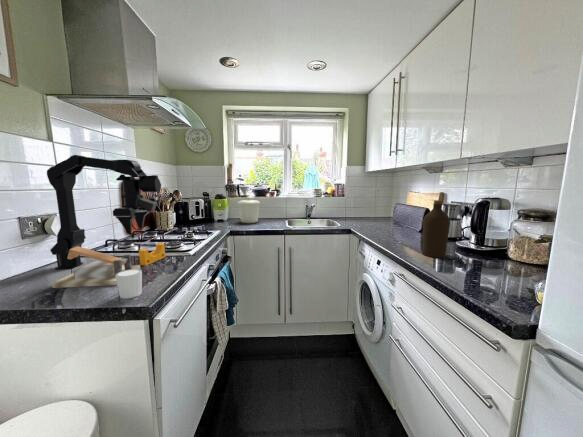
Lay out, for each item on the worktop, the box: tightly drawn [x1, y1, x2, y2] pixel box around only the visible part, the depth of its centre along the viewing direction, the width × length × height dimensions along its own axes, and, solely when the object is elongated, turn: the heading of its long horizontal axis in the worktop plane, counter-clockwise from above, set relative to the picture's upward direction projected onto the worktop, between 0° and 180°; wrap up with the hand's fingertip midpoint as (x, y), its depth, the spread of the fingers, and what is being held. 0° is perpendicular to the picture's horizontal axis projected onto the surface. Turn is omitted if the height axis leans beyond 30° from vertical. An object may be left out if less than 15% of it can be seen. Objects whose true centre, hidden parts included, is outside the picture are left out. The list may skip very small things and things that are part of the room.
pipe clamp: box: [138, 242, 166, 267], centre depth 111 cm, size 12×4×6 cm, turn 169°
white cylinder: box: [115, 269, 143, 299], centre depth 78 cm, size 7×7×7 cm
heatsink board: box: [51, 254, 141, 289], centre depth 92 cm, size 20×16×7 cm
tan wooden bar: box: [67, 246, 128, 266], centre depth 91 cm, size 17×5×4 cm, turn 97°
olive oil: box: [421, 199, 451, 259], centre depth 116 cm, size 11×11×25 cm
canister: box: [237, 196, 261, 224], centre depth 206 cm, size 18×18×21 cm
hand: (135, 230), depth 104 cm, fingers open, 9 cm apart
